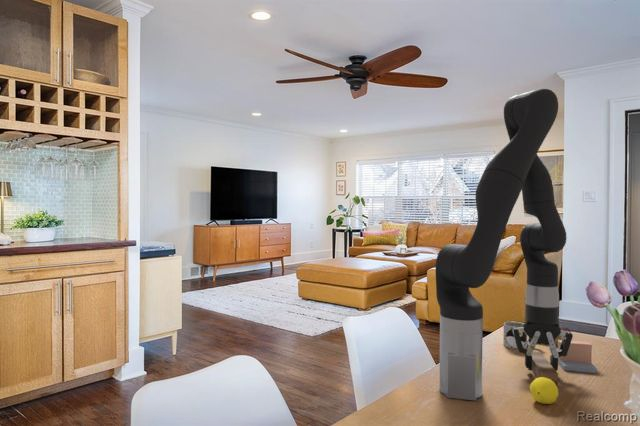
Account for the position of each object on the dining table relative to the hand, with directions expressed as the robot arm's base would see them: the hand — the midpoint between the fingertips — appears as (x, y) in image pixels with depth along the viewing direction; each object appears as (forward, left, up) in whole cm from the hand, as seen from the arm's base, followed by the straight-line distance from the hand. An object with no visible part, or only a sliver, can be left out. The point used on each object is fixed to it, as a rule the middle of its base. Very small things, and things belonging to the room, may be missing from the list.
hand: (541, 370), depth 113 cm
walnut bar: (0, 0, -1) cm, 1 cm away
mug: (+23, +1, -1) cm, 23 cm away
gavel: (+37, -12, -2) cm, 39 cm away
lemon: (-18, +3, -1) cm, 18 cm away
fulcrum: (+10, -10, -1) cm, 14 cm away
